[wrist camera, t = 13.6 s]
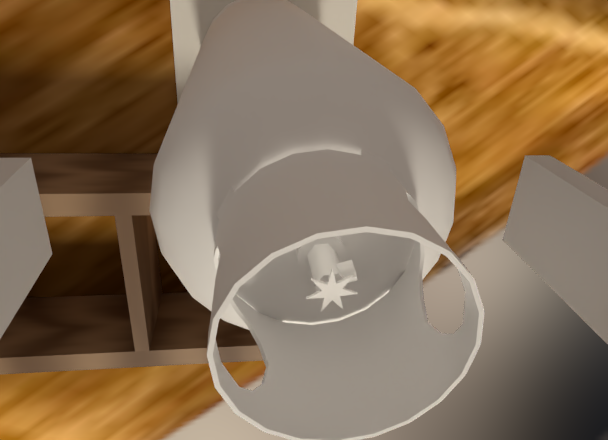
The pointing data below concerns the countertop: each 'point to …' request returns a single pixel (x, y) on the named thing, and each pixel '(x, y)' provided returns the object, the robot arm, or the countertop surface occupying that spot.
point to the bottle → (313, 225)
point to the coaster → (209, 3)
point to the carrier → (137, 275)
